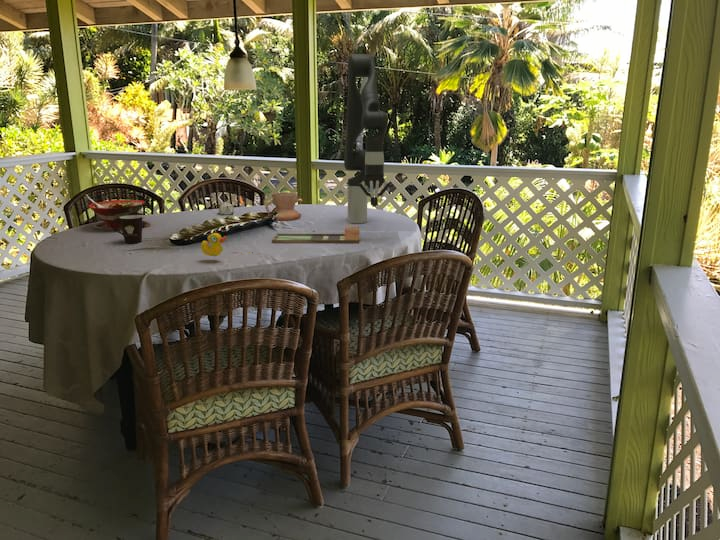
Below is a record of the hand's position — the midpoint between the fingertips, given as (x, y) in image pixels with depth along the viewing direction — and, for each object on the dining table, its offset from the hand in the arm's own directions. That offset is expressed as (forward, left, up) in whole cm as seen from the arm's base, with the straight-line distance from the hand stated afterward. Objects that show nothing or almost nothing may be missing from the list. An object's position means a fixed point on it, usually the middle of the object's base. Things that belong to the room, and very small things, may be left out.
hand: (374, 206), depth 234 cm
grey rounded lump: (-50, -72, -14) cm, 89 cm away
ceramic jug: (-42, -42, -14) cm, 61 cm away
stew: (-22, -114, -14) cm, 117 cm away
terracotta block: (0, -9, -13) cm, 16 cm away
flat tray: (0, -23, -14) cm, 27 cm away
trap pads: (0, -23, -14) cm, 27 cm away
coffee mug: (+4, -99, -14) cm, 100 cm away
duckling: (+30, -58, -14) cm, 67 cm away
